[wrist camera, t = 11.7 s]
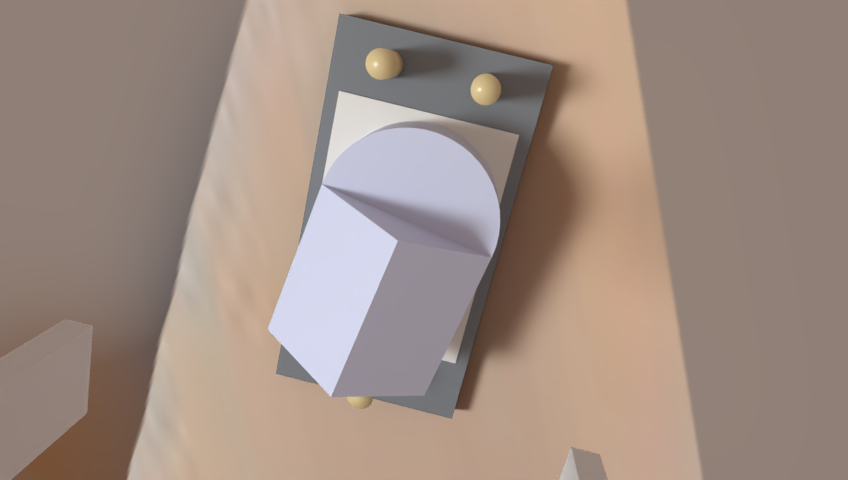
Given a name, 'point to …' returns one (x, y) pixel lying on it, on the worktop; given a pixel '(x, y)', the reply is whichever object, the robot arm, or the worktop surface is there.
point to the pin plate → (439, 104)
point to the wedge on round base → (389, 261)
